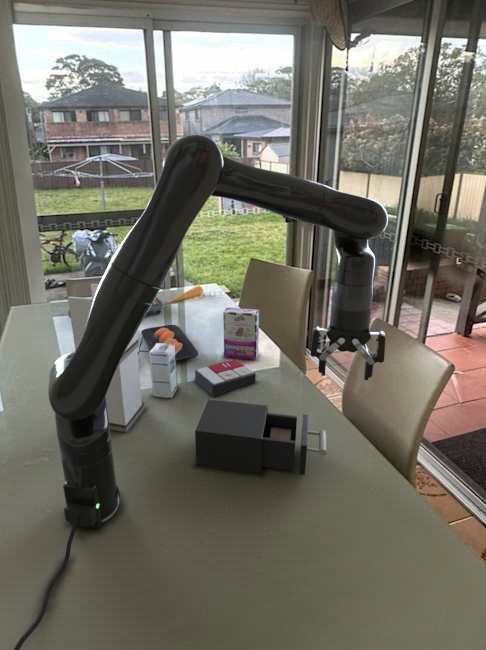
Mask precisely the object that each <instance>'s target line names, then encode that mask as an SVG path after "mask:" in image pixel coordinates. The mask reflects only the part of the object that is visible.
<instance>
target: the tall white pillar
mask: <svg viewBox="0 0 486 650" xmlns="http://www.w3.org/2000/svg"><path fill="white" fill-rule="evenodd" d="M99 284H100V283H91V284H90V290H91V291H90V292H91V298H90V297H80V296H71V295H70V296H68V297H67V301H68V308H69V309H68V310H70V316H71V318H70V323H71V328H72V329H71V330H72V335H73V343H74V350H75V351H76V349H77V347H78V345H79V343H80V341H81V339H82V337H83V334H84V331H85V328H86V324H87V321H88V317H89V313H90V310H91V307H92V303H93V300H94V297H95V294H96V291H97V289H98V286H99ZM139 346H140V341H139V329H138V330H137V331H136V333H135V335H134V337H133V338H132V340H131V342H130V343H129V345H128V347H127V348H126V350H125V352H124V354H123V356H122V358H121V360H120V362H119V364H118V366H117V369H116V371H115V374H114V376H113V378H112V381H111V383H110V386H109V389H108V391H107V394H106V404H107V410H108V418H109V426H110V431H112V430H113V431H117V432H123V433H127V432H129V430H130V428H131V427H132V426H133V424H135V422H136V421H137V419H138V418H139V417H140V415H141V414H142V413H143V411H144V410H145V402H143V400H142V399H143V397H142V387H141V377H140V366H139V354H138V353H137V352H138V351H139ZM75 351H74V352H75Z"/></svg>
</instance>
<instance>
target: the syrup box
mask: <svg viewBox="0 0 486 650" xmlns="http://www.w3.org/2000/svg"><path fill="white" fill-rule="evenodd" d="M149 351H150V352H148V354H149V365H150V377H151V385H152V386H151V388H152V396H153V397H157V398H166V399H172V398H173V396H174V395H175V393H176V391H177V389H178V374H177V372H178V371H177V361H176V358H175V345H173V344H167V343H156V345H155V346H154V347H153V348H152V349H151V350H149Z"/></svg>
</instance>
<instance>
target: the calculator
mask: <svg viewBox="0 0 486 650" xmlns="http://www.w3.org/2000/svg"><path fill="white" fill-rule="evenodd" d="M256 375H257V374H256V373H255V372H254V371H253V370H252V369H250V368H249V367H247V366H246V365H244V364H243V363H241V362H240V361H239V360H237V358H234V359H231V360H227V361H223V362H219V363H216V364H211V365H208V366H205V367H200V368H198V369H195V370H194V381H195V382H196V383H197V384H198V385H199V386H200V387H202V388H203V389H204V390H205V391H206V392H207V393H208V394H209V395H211V397H214V398H215V397H217V396H220V395H224V394H226V392H229V391H231V390H235V389H239V388H242V387H245V386H249V385H252V384H256Z"/></svg>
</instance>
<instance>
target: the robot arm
mask: <svg viewBox="0 0 486 650" xmlns="http://www.w3.org/2000/svg"><path fill="white" fill-rule="evenodd" d="M163 154H164V155H163V158H162V162H161V171H160V175H159V178H158V180H157V182H156V185H155V187H154V190H153V192H152V194H151V197H150V199H149V201H148V203H147V206H146V207H145V209H144V211H143V212H142V214H141V216H140V217H139V218H138V220H137V221H136V223H135V224H134V225H133V226H132V228H131V229H130V230H129V232H128V233H127V235H126V236H125V237H124V239H122V242H121V243H120V245H119V246H118V248H117V249H116V251H115V253H114V255H113V256H112V258H111V260H110V261H109V264H108V265H107V268H106V269H105V272H104V273H103V275H102V277H101V279H100V282H99V283H98V284H99V286H98V289H97V291H96V294H95V297H94V300H93V303H92V307H91V310H90V313H89V317H88V321H87V324H86V328H85V331H84V334H83V337H82V339H81V341H80V343H79V345H78V347H77V349H76V351H72V352H69V353H66V354H63V355H62V356H61V357H59V358H58V359H57V360H56V361H55V362H54V363H53V365H52V367H51V369H50V371H49V374H48V375H49V378H48V392H47V393H48V400H49V401H48V402H49V404H50V406H51V409H52V411H53V412H54V416H55V417H54V418H55V428H56V430H55V431H56V437H57V443H58V448H59V454H60V460H61V465H62V472H63V477H64V484H63V485H62V487H63V493H64V498H65V499H64V500H65V506H64V508H63V512H64V519H65V522H66V523H69V524H70V525H71V526H72V528H71V530H70V533H69V536H68V540H67V543H66V549H65V555H64V558H63V561H62V563H61V565H60V566H59V568H58V569H57V571H56V573H55V574H54V575H53V577H52V578H51V580H50V582H49V583H48V586H47V588H46V590H45V593H44V596H43V600H42V604H41V608H40V611H39V613H38V615H37V617H36V619H35V620H34V622H33V623H32V624H31V626H30V627H28V629H27V630H26V631H25V633H24V634H23V635H21V637H20V638H19V640H18V642H17V643H16V645H15V647H14V649H13V650H21V648H22V646H23V644H24V643H25V641H26V640H28V638H29V637H30V636H31V635H32V634H33V632H35V630H36V629H37V628H38V626H39V625H40V623H41V622H42V620H43V618H44V615H45V613H46V610H47V608H48V603H49V599H50V595H51V592H52V589H53V587H54V586H55V583H56V582H57V580H58V578H59V577H60V576H61V575H62V573H63V571H64V570H65V568H66V566H67V564H68V562H69V559H70V556H71V548H72V544H73V540H74V537H75V534H76V531H77V528H78V527H84V528H91V529H94V530H95V529H96V530H100V529H101V527H102V526H103V525H104V524H106V523H107V522H109V521H110V520H112V519H113V518H114V517H115V516H116V514H117V513H118V511H119V508H120V498H121V494H120V489H119V487H118V485H117V478H116V470H115V469H116V468H115V461H114V454H113V445H112V444H113V443H112V436H111V429H110V426H109V418H108V410H107V404H106V394H107V391H108V389H109V386H110V383H111V381H112V378H113V376H114V374H115V371H116V369H117V366H118V364H119V362H120V360H121V358H122V356H123V354H124V352H125V350H126V348H127V347H128V345H129V343H130V342H131V340H132V338H133V337H134V335H135V333H136V331H137V330H138V331H139V327H141V324H142V322H143V321H144V319H145V317H146V315H147V313H149V312H148V310H149V309H150V307H151V305H152V303H153V302H154V300H155V298H157V296H158V294H159V292H160V291H161V289H162V287H163V285H164V283H165V281H166V279H167V276H168V274H169V272H170V270H171V269H172V266H173V264H174V262H175V259H176V257H177V255H178V253H179V250H180V248H181V246H182V244H183V241H184V239H185V237H186V234H188V231H189V230H190V228H191V226H192V224H193V223H194V221H195V220H196V218H197V217H198V216H199V214H200V212H201V210H202V209H203V208H204V206H205V205H206V203H207V202H208V201H209V199H210V197H217V198H223V199H228V200H232V201H236V202H240V203H244V204H247V205H250V206H253V207H256V208H258V209H262V210H263V211H264V210H265V211H267V212H270V213H272V214H276V215H279V216H282V217H285V218H287V219H291V220H295V221H297V222H302V223H305V224H308V225H312V226H319V227H323V228H326V229H328V230H332V231H333V232H332V233H333V241H334V249H335V255H336V260H335V269H334V270H335V271H334V282H333V286H332V290H331V299H330V300H331V302H330V316H329V326H328V327H327V328H323V327H320V325H314V327H313V331H312V338H311V346H310V356H311V357H312V358H318V373H319V374H321V376H322V377H325V376H326V368H327V358H328V357H329V356H330V355H333V353H335V352H336V350H337V351H339V352H343V353H344V352H350V353H356V352H358V353H359V354H360V355H361V356H362V357H363V358H364V359H365V361H364V368H363V381H369V379H371V378H372V377H373V370H374V365H375V364H376V363H379V364H383V363H384V362H385V354H386V353H385V352H386V333H385V331H383V330H378V331H370V324H371V315H372V305H373V297H374V275H375V267H376V265H375V264H376V257H375V254H374V252H372V250H371V249H370V247H369V240H372V239H375V238H377V237H379V236H381V234H382V233H383V232H384V231H385V230H386V228H387V226H388V221H389V218H388V212H387V210H386V208H385V207H384V206H383V205H382V204H381V203H380V202H379V201H377V200H375V199H372V198H368V197H364V196H360V195H357V194H352V193H349V192H344V191H341V190H337V189H335V188H332V187H330V186H328V185H326V184H323V183H320V182H317V181H313V180H310V179H308V178H304V177H300V176H297V175H294V174H293V175H292V174H288V173H284V172H279V171H274V170H269V169H266V168H265V169H264V168H260V167H256V166H252V165H249V164H245V163H242V162H240V161H237V160H234V159H232V158H229V157H227V156H225V155H224V154H222V151H221V149H220V147H219V146H218V144H217V142H216V141H214V140H213V139H212V138H210V137H208V136H206V135H203V134H187V135H184V136H182V137H179V138H178V139H176V140H174V141H173V143H171V144H170V145H169V147H168V148H167V149H166V150H165V152H164V153H163ZM325 336H326V337H327V338H328V340H329V341H327V342H326V344H325V345H324V347H322V349H320V348H318V347H319V340H323V338H324V337H325ZM371 339H372V340H373V342H374V344H376V353H372V352H371V350H370V349H369V347H368V346H367V343H368V342H369V341H370V340H371Z"/></svg>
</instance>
